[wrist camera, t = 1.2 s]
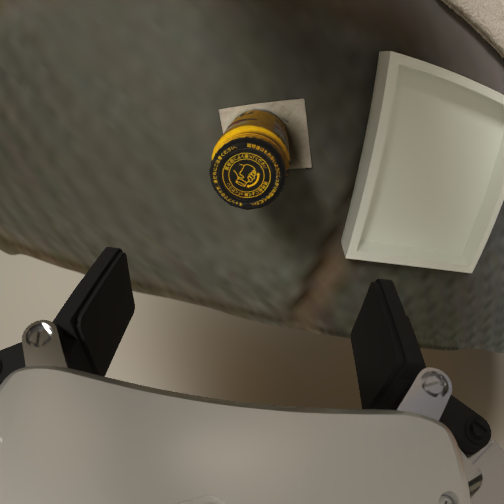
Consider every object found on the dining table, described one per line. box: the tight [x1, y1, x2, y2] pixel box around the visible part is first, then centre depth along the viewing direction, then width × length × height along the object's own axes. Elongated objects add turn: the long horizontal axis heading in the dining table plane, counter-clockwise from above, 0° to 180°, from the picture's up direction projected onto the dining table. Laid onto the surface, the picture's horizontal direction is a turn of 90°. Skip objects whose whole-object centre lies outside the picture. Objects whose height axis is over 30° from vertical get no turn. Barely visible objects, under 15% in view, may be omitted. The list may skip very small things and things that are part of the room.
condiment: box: [209, 99, 312, 210], centre depth 26 cm, size 7×8×12 cm
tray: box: [341, 51, 504, 273], centre depth 30 cm, size 22×18×4 cm
